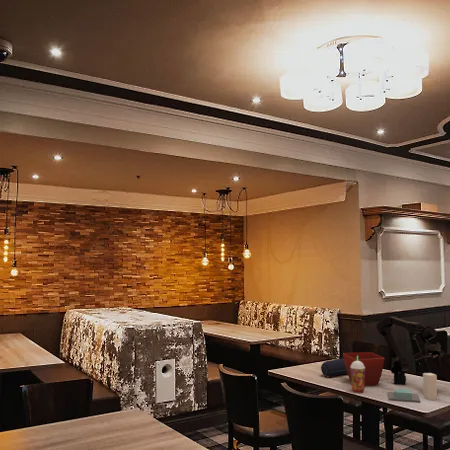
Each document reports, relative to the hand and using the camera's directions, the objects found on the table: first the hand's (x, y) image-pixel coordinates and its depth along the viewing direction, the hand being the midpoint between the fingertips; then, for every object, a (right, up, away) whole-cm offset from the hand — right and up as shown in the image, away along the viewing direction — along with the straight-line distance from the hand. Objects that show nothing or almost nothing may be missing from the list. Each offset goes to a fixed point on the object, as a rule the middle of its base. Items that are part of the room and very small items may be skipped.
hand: (435, 369), depth 277 cm
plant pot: (-34, -15, +22) cm, 43 cm away
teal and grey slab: (-22, -13, -11) cm, 27 cm away
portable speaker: (-45, -17, +44) cm, 65 cm away
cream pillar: (-7, -13, -11) cm, 18 cm away
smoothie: (-43, -14, +4) cm, 45 cm away
